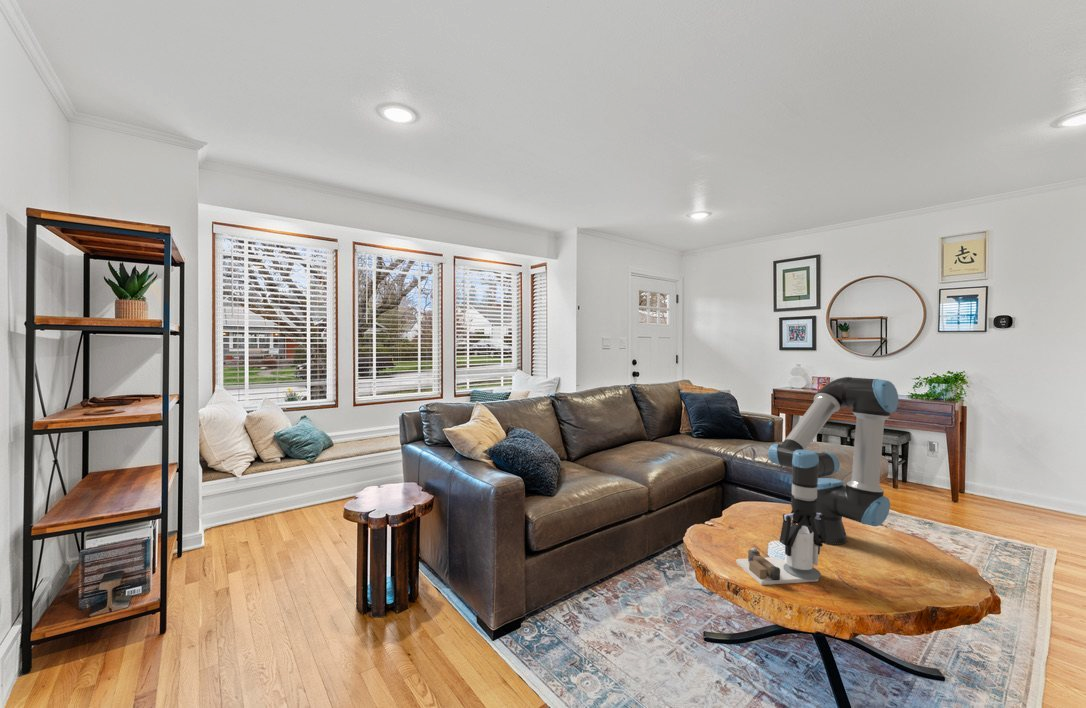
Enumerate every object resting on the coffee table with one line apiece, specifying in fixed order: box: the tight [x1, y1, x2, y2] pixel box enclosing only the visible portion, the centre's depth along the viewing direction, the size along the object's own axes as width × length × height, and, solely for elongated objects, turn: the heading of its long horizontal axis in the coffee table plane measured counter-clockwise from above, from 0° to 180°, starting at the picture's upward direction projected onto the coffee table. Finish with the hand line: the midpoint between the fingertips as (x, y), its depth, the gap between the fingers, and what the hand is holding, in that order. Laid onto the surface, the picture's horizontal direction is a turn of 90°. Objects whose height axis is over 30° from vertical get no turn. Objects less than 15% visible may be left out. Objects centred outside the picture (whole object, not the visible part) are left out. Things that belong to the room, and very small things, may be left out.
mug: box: [784, 526, 814, 570], centre depth 155 cm, size 12×8×12 cm
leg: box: [747, 549, 780, 580], centre depth 156 cm, size 14×4×3 cm, turn 9°
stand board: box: [735, 547, 822, 586], centre depth 157 cm, size 23×16×6 cm
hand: (802, 564), depth 156 cm, fingers closed on mug, 8 cm apart
